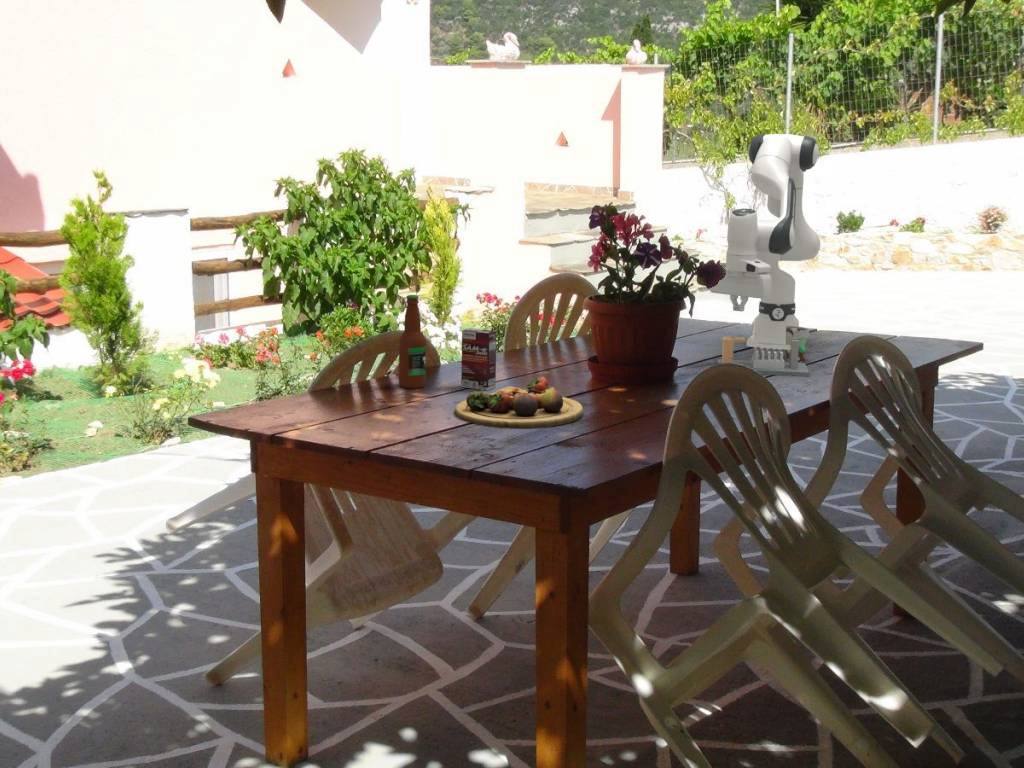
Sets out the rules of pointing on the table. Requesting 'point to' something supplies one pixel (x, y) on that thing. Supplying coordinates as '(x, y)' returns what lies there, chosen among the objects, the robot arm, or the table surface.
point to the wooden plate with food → (520, 407)
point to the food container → (802, 337)
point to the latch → (730, 347)
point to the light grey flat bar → (769, 345)
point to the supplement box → (478, 359)
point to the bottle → (412, 348)
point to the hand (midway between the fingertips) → (738, 310)
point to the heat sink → (776, 362)
